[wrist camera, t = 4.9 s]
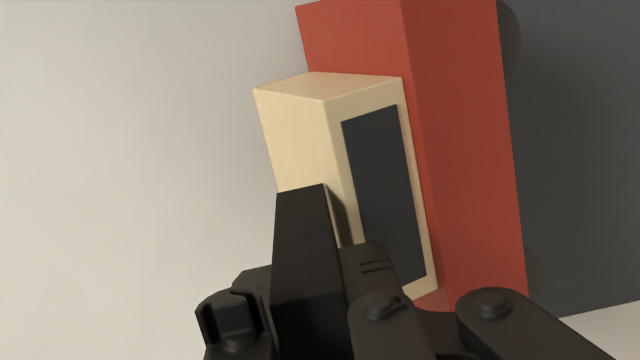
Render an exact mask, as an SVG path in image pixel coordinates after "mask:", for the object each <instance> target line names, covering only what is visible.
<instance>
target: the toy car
mask: <svg viewBox="0 0 640 360" xmlns="http://www.w3.org/2000/svg"><path fill="white" fill-rule="evenodd" d="M295 11H296V16H297V20H298V24H299V29H300V33H301V38H302V42H303V47H304V51H305V56H306V60H307V64H308V69H309V72H308V73H304V74H301V75H297V76H294V77H290V78H287V79H283V80H279V81H276V82H272V83H269V84H265V85H262V86H258V87H255V88H253V89H252V91H253V95H254V99H255V103H256V106H257V110H258V114H259V118H260V122H261V126H262V129H263V133H264V137H265V141H266V145H267V149H268V152H269V156H270V160H271V164H272V168H273V172H274V175H275V179H276V183H277V187H278V191H279V193H280V192H284V191H288V190H293V189H297V188H302V187H307V186H311V185H316V184H320V183H323V184H324V189H325V193H326V197H327V202H328V206H329V211H330V215H331V220H332V224H333V228H334V233H335V237H336V242H337V246H338V248H342V247H347V246H351V245H356V244H360V243H365V242H369V241H374V240H375V241H376V242H378V243H380V244H381V245H383V246H385V247H386V249H387V251H388V254H389V256H390V259H391V261H392V264H393V267H394V269H395V271H396V274H397V276H398V279H399V281H400V284H401V286H402V289H403V291H404V294H405V295H407V296H408V297H409V298H410V299H411V300H412V301H413V303H414V305H415V306H416V307H418V308H421V309H424V310H428V311H437V312H455V304H456V302H457V301H458V299H459V298H460V297H461V296H462V295H464V294H466V293H468V292H470V291H471V290H475V289H479V288H482V287H503V288H508V289H513V290H515V291H517V292H519V293H521V294H523V295H524V296H526V297H527V298H529V299H530V300H532V301H533V302H534V303H537V301H538V299H539V297H540V295H541V293H542V290H543V286H544V281H545V270H544V265H543V262H542V260H541V258H540V257H539V255H538V254H537V253H536V252H535V251H533V250H532V249H530V248H527V247H525V246H523V241H522V232H521V223H520V214H519V205H518V196H517V187H516V178H515V169H514V161H513V152H512V143H511V134H510V125H509V116H508V107H507V98H506V90H505V80H506V79H507V78H508V77H509V76H510V75H511V73H512V72H513V70H514V68H515V66H516V64H517V61H518V59H519V55H520V50H521V30H520V26H519V22H518V20H517V17H516V15H515V13H514V12H513V10H512V9H511V8H510V7H509V6H508V5H507V4H506V3H505V2H504V1H502V0H321V1H317V2H312V3H308V4H304V5H300V6H296V7H295Z"/></svg>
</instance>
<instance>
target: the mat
mask: <svg viewBox="0 0 640 360" xmlns="http://www.w3.org/2000/svg"><path fill="white" fill-rule="evenodd" d="M502 1H504V2H505V3H506V4H507V5H508V6H509V7H510V8H511V9H512V10H513V12H514V13H515V15H516V17H517V20H518V22H519V26H520V30H521V50H520V55H519V59H518V61H517V64H516V66H515V68H514V70H513V72H512V73H511V75H510V76H509V77H508V78H507V79H506V80H505V90H506V98H507V107H508V116H509V125H510V134H511V143H512V152H513V161H514V169H515V178H516V187H517V196H518V205H519V214H520V223H521V232H522V241H523V246H525V247H527V248H530V249H532V250H533V251H535V252H536V253H537V254H538V255H539V257H540V258H541V260H542V262H543V265H544V270H545V281H544V286H543V290H542V293H541V295H540V297H539V299H538V301H537V303H536V304H537V305H539V306H540V307H542V308H543V309H544V310H546V311H547V312H549V313H550V314H552V315H553V316H554V317H556V318H561V317H566V316H570V315H575V314H579V313H584V312H588V311H593V310H597V309H602V308H606V307H611V306H615V305H620V304H625V303H629V302H634V301H638V300H640V0H502Z"/></svg>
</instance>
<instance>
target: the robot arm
mask: <svg viewBox="0 0 640 360" xmlns="http://www.w3.org/2000/svg"><path fill="white" fill-rule="evenodd" d="M195 315H196V318H197V321H198V324H199V327H200V330H201V333H202V336H203V339H204V342H205V345H206V351H205V355H204V359H203V360H616V359H614V358H613V357H612V356H610V355H609V354H607V353H606V352H604V351H603V350H602V349H600V348H599V347H597V346H596V345H594V344H593V343H592V342H590V341H589V340H587V339H586V338H584V337H583V336H582V335H580V334H579V333H577V332H576V331H574V330H573V329H572V328H570V327H569V326H567V325H566V324H564V323H563V322H562V321H560V320H559V319H557V318H556V317H554V316H553V315H552V314H550V313H549V312H547V311H546V310H544V309H543V308H542V307H540V306H539V305H537V304H536V303H534V302H533V301H532V300H530V299H529V298H527V297H526V296H524V295H523V294H521V293H519V292H517V291H515V290H513V289H508V288H503V287H482V288H479V289H475V290H471V291H470V292H468V293H466V294H464V295H462V296H461V297H460V298H459V299H458V301H457V302H456V304H455V312H437V311H428V310H424V309H421V308H418V307H416V306H415V305H414V303H413V301H412V300H411V299H410V298H409V297H408V296H407V295H405V294H404V291H403V289H402V286H401V284H400V281H399V279H398V276H397V274H396V271H395V269H394V267H393V264H392V261H391V259H390V256H389V254H388V251H387V249H386V247H385V246H383V245H381V244H380V243H378V242H376V241H375V240H374V241H369V242H365V243H360V244H356V245H351V246H347V247H342V248H338V246H337V242H336V237H335V233H334V228H333V224H332V220H331V215H330V211H329V206H328V202H327V197H326V193H325V189H324V184H323V183H320V184H316V185H311V186H307V187H302V188H297V189H293V190H288V191H284V192H280V193H277V197H276V211H275V226H274V240H273V254H272V265H267V266H263V267H258V268H254V269H249V270H245V271H242V272H241V273H240V274H239V276H238V277H237V278H236V279H235V280H234V281H233V283H232V287H230V288H227V289H224V290H221V291H218V292H216V293H214V294H213V295H211V296H209V297H207V298H206V299H205V300H204V301H202V302H201V303H200V304H199V305H198V307H197V308H196V310H195Z"/></svg>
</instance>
